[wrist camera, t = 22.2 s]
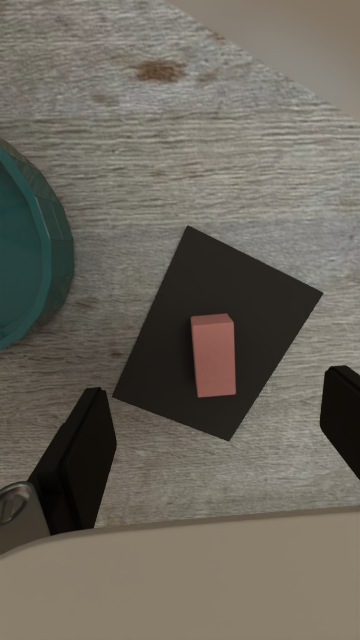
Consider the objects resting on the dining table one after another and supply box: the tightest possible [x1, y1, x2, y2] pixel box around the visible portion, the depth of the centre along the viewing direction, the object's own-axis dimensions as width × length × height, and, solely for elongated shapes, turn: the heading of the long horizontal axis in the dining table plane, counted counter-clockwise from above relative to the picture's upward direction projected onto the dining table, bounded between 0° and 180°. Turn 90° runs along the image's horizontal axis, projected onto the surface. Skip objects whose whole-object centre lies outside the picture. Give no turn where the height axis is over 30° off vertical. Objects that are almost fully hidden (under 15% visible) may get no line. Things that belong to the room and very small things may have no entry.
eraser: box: [191, 314, 236, 397], centre depth 20 cm, size 6×3×2 cm, turn 5°
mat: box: [112, 226, 323, 441], centre depth 21 cm, size 16×12×1 cm
